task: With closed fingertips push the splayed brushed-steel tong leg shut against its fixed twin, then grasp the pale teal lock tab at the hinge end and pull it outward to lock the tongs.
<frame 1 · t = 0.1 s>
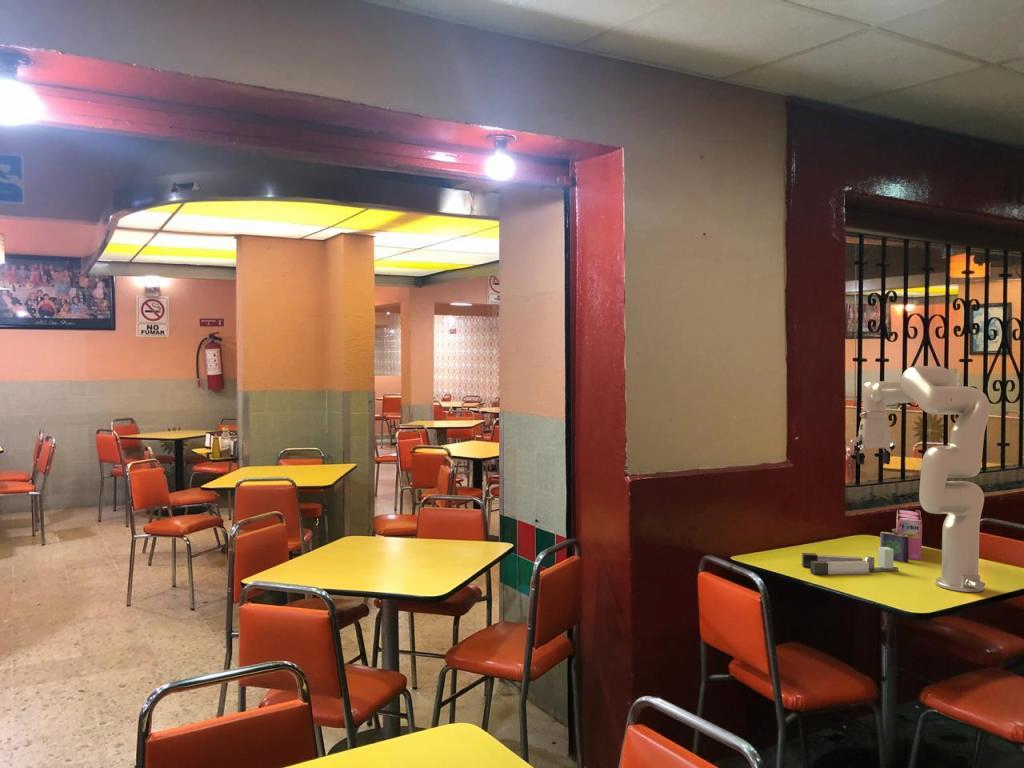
hand: (873, 463, 273), 31 cm above the table, fingers open, 9 cm apart
tong leg: (831, 561, 249), point 2 cm above the table, hinge at 18.0°
lock tab: (885, 557, 246), point 4 cm above the table, slide at 0.0 cm
gum box: (908, 552, 272), on the table
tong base: (869, 571, 246), on the table
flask: (894, 560, 260), on the table
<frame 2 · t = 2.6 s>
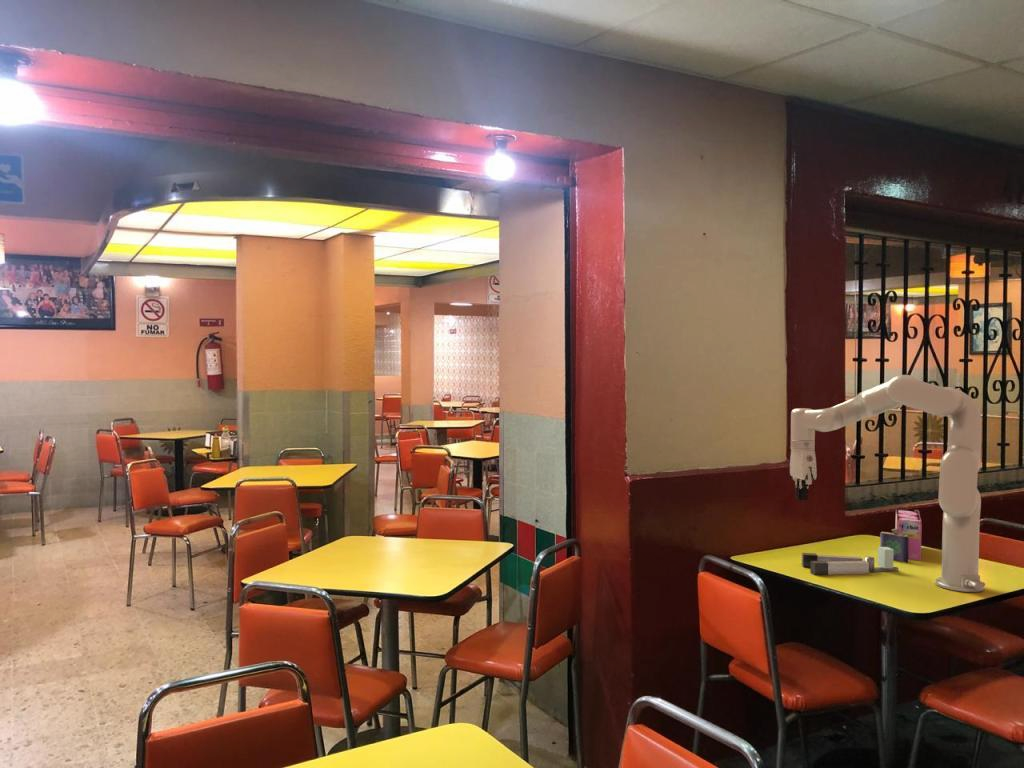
hand: (801, 499, 256), 21 cm above the table, fingers closed
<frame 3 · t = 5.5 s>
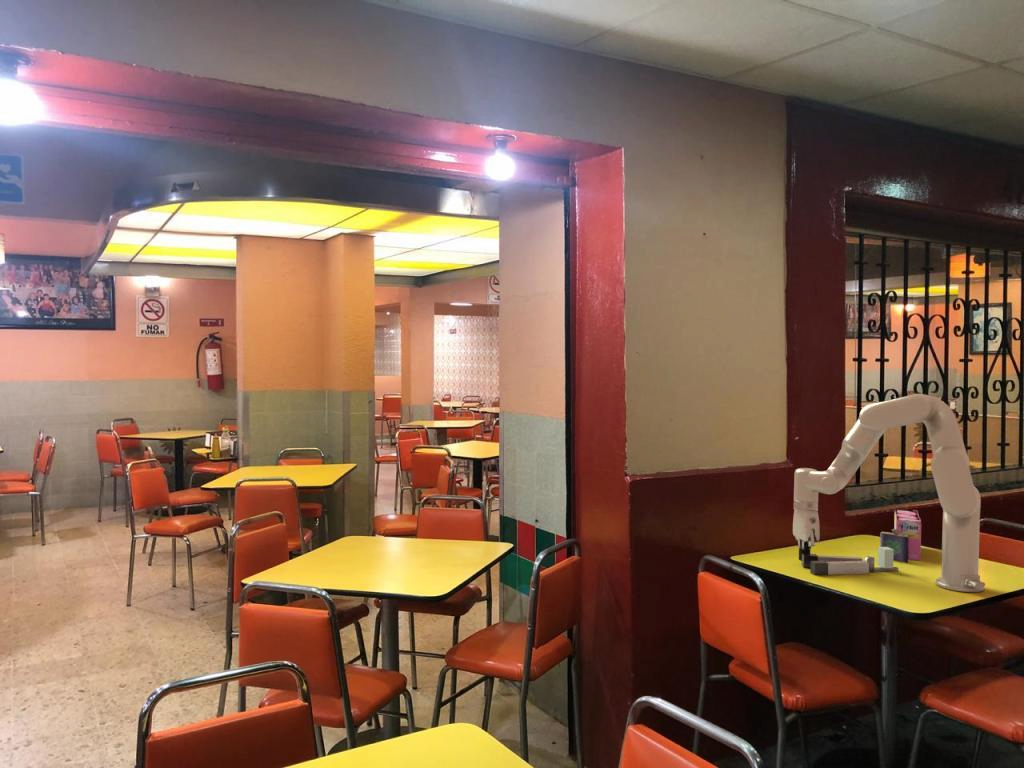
hand: (804, 560, 254), 1 cm above the table, fingers closed
tong leg: (831, 561, 249), point 2 cm above the table, hinge at 15.2°, touching gripper
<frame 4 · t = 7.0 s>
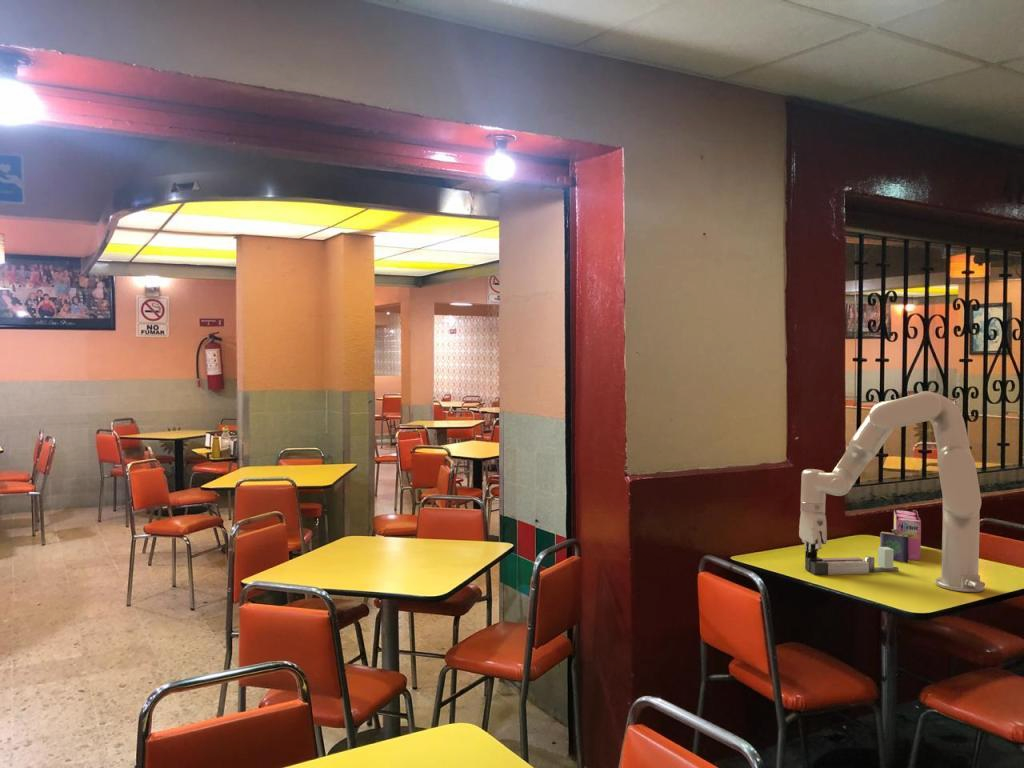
hand: (810, 563, 249), 2 cm above the table, fingers closed
tong leg: (834, 563, 246), point 2 cm above the table, hinge at 0.0°, touching gripper
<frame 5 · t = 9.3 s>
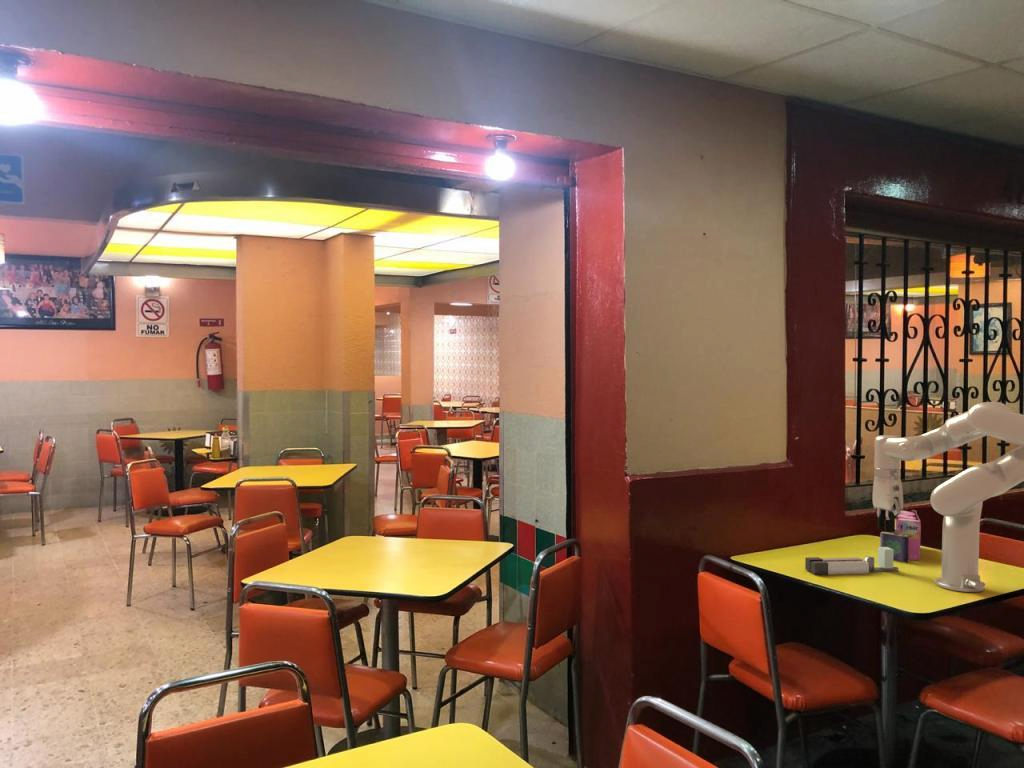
hand: (886, 530, 246), 13 cm above the table, fingers closed
tong leg: (834, 563, 246), point 2 cm above the table, hinge at -0.3°
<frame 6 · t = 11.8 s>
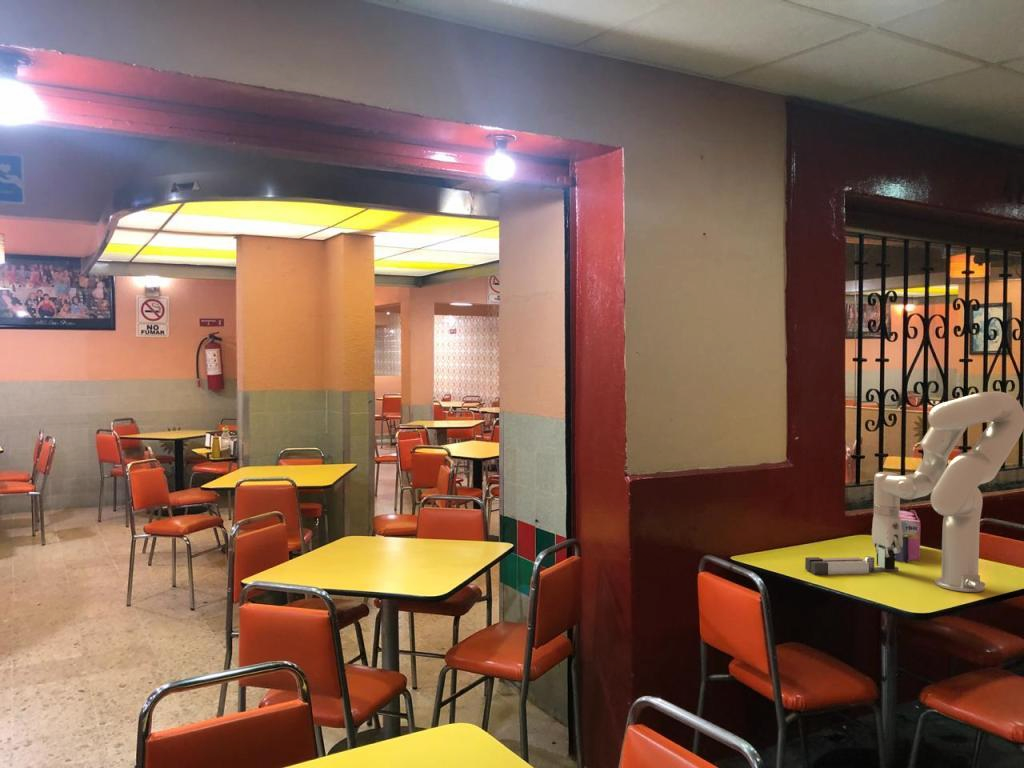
hand: (885, 566, 246), 1 cm above the table, fingers closed on lock tab, 3 cm apart
lock tab: (885, 557, 246), point 4 cm above the table, slide at 0.0 cm, touching gripper
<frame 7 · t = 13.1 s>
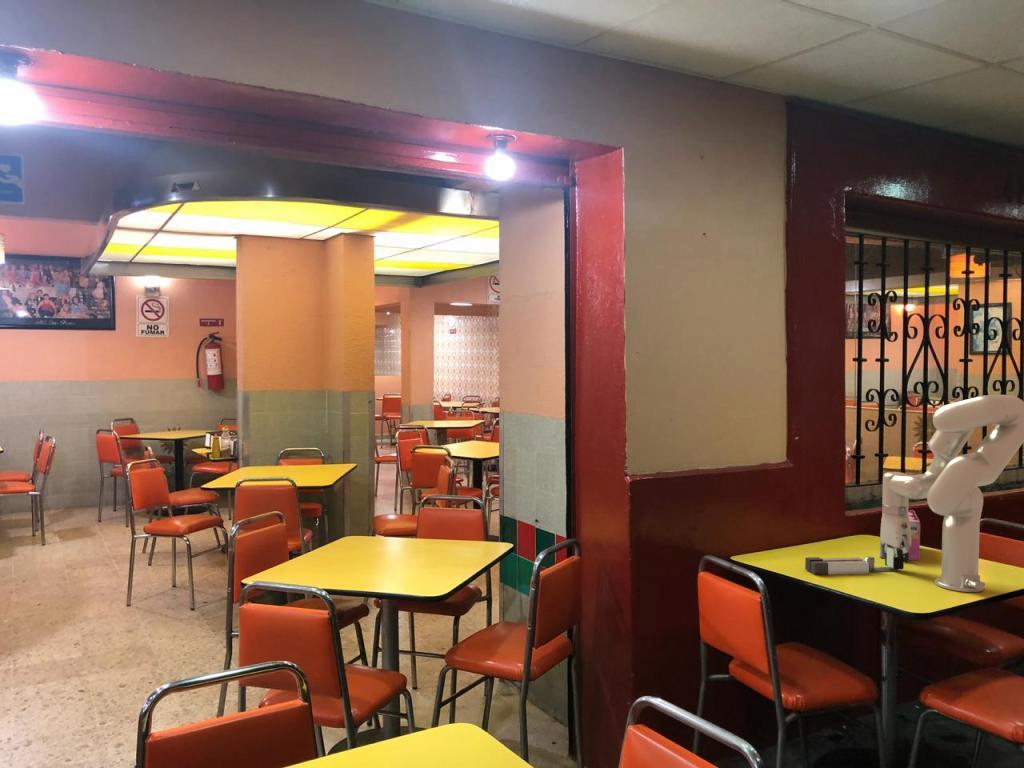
hand: (894, 566, 247), 1 cm above the table, fingers closed on lock tab, 3 cm apart
lock tab: (894, 557, 247), point 4 cm above the table, slide at 3.0 cm, touching gripper
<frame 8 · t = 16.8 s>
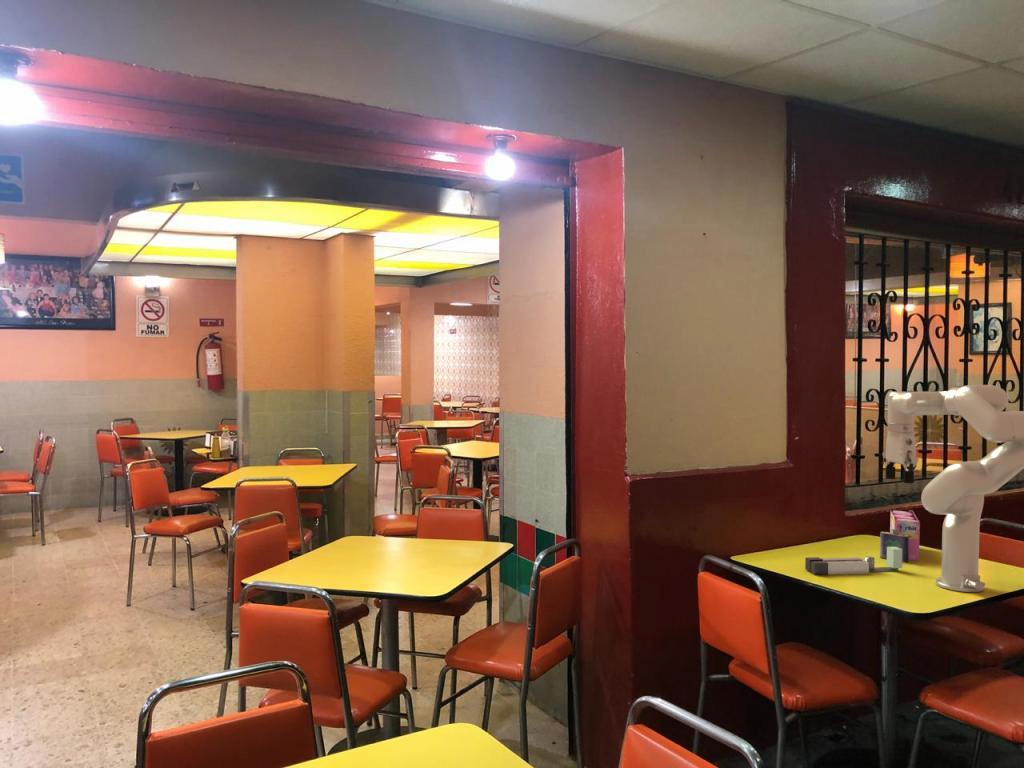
hand: (899, 480, 251), 28 cm above the table, fingers open, 9 cm apart
lock tab: (894, 557, 247), point 4 cm above the table, slide at 3.0 cm
at the end: tong leg at +0° (first picture: +18°); lock tab slide at 3.0 cm; the gripper is holding nothing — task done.
